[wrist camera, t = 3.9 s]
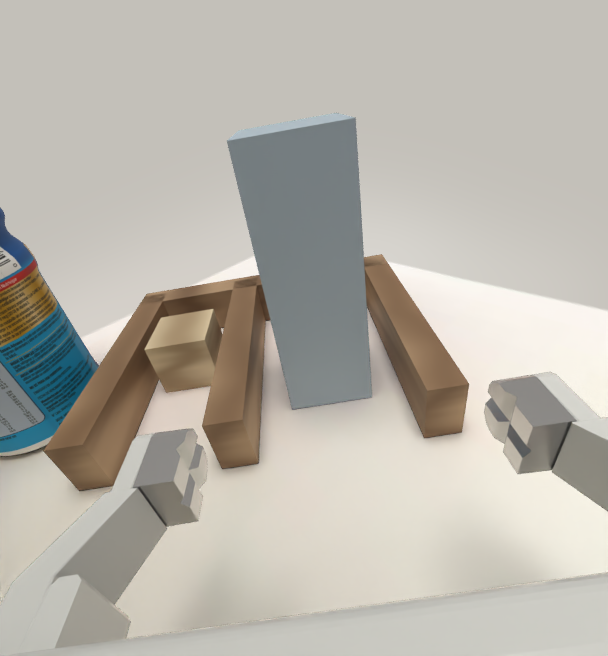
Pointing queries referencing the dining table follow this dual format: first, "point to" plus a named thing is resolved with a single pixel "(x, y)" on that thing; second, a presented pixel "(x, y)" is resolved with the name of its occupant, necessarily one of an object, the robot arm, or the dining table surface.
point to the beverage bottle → (34, 353)
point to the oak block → (185, 350)
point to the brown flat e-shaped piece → (242, 375)
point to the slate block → (309, 251)
